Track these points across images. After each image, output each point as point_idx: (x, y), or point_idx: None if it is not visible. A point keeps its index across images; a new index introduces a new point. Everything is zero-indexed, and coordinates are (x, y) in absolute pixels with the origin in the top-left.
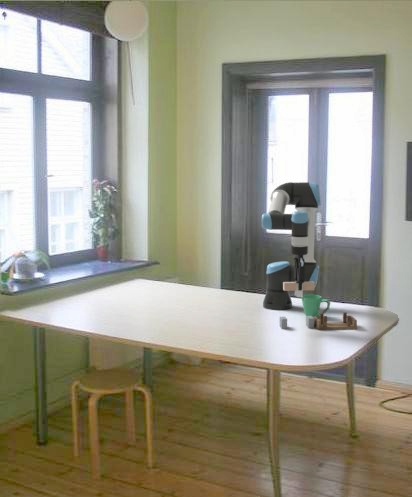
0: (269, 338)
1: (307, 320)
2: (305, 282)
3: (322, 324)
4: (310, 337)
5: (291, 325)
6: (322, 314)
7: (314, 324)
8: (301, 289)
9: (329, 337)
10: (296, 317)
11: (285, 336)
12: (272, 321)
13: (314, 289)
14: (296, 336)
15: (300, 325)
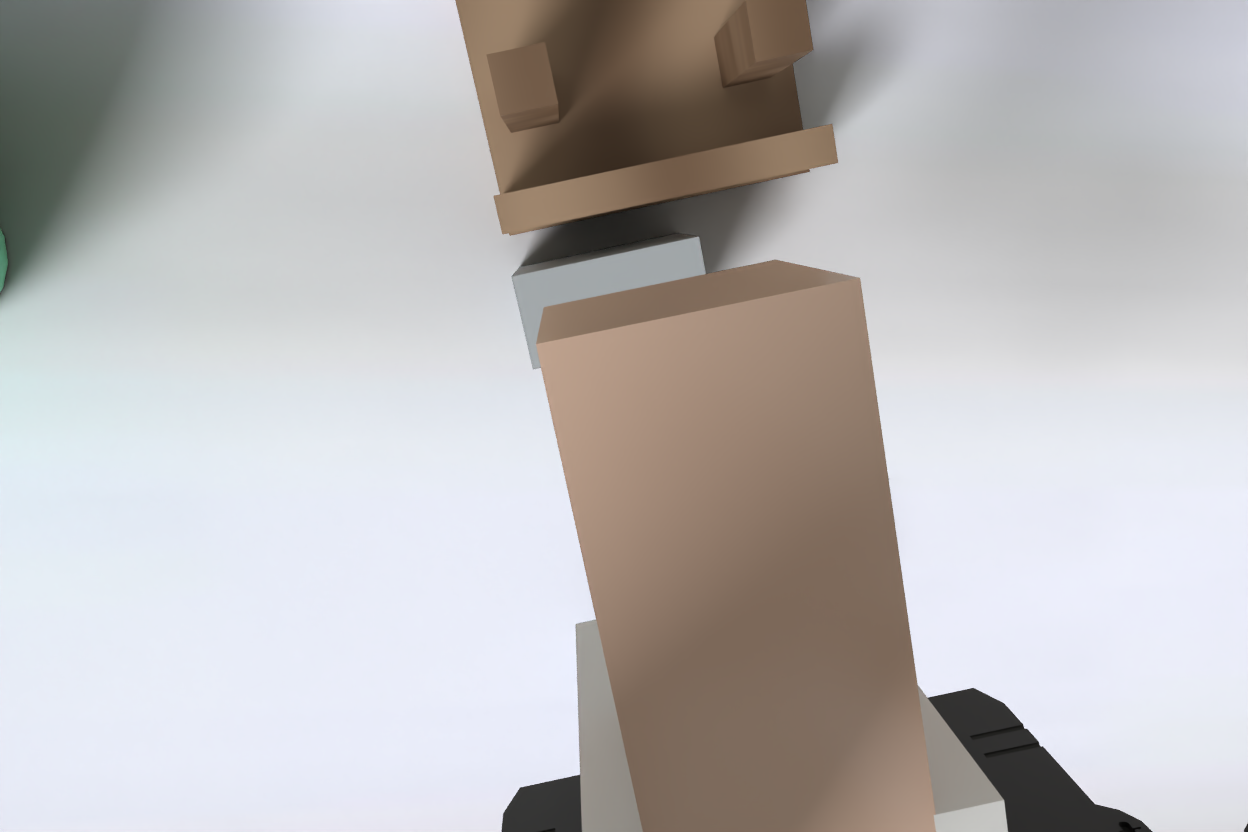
0: (1223, 786)
1: None
2: (819, 698)
3: (610, 91)
4: (1192, 298)
5: (559, 549)
6: (550, 68)
7: (580, 220)
8: (1007, 718)
9: (1199, 27)
10: (38, 482)
11: (1137, 612)
12: (362, 800)
13: (782, 264)
14: (1139, 479)
15: (543, 425)
